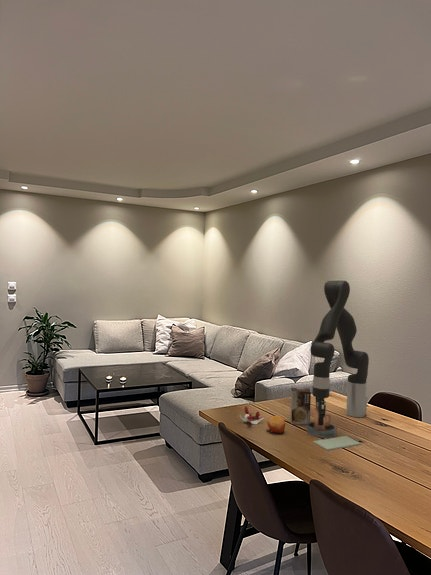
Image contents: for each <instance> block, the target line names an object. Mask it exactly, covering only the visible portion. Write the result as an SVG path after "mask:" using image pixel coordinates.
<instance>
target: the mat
mask: <svg viewBox="0 0 431 575" xmlns="http://www.w3.org/2000/svg"><path fill="white" fill-rule="evenodd" d="M312 442H313V444H315V445H317V446H318V447H320V448H322V449H323V450H325V451H331V450H337V449H344V448H350V447H355V446H360V445H362V443H361V442H359V441H357V440H355V439H353V438H351V437H349V436H347V435H344V436H337V437H336V436H335V437H332V438H323V439H317V440H313V441H312Z"/></svg>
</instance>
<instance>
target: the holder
mask: <svg viewBox="0 0 431 575" xmlns="http://www.w3.org/2000/svg"><path fill="white" fill-rule="evenodd" d="M325 423H328V421H326V422H325ZM305 426H306V427H305V428H306V433H307V434H308V435H310V436H312V437H316V438H321V439H322V438H323V439H330V438H336V436H337V435H338V428H337V426H336V425H335V424H333V423H331V425H330V426H325V430H318V429H314V420H313V421H310V422H309V423H307V425H305Z"/></svg>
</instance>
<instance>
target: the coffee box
mask: <svg viewBox="0 0 431 575" xmlns="http://www.w3.org/2000/svg"><path fill="white" fill-rule="evenodd" d="M290 389H291V390H290V393H291V394H290V418H289V420H290V424H292V425H305V426H307V423H309V422H311V400H312V398H311V397H312V391H311V390H310V388H309V387H308V388H307V387H291V388H290Z"/></svg>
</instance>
